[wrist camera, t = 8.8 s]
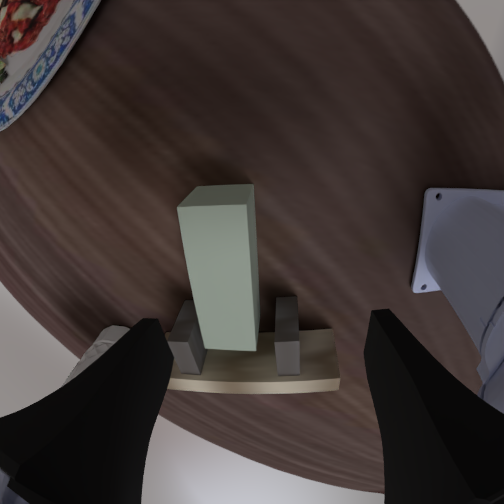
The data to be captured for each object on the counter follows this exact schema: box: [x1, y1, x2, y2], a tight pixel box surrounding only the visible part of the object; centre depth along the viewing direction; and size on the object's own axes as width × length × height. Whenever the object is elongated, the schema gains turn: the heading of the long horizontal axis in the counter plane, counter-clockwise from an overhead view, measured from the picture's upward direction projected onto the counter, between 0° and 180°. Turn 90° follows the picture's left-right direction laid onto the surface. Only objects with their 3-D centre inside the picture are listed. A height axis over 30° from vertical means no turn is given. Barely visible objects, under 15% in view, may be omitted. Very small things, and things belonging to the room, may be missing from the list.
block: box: [177, 184, 260, 351], centre depth 18 cm, size 4×10×4 cm, turn 3°
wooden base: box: [165, 296, 340, 394], centre depth 20 cm, size 14×5×5 cm, turn 97°
